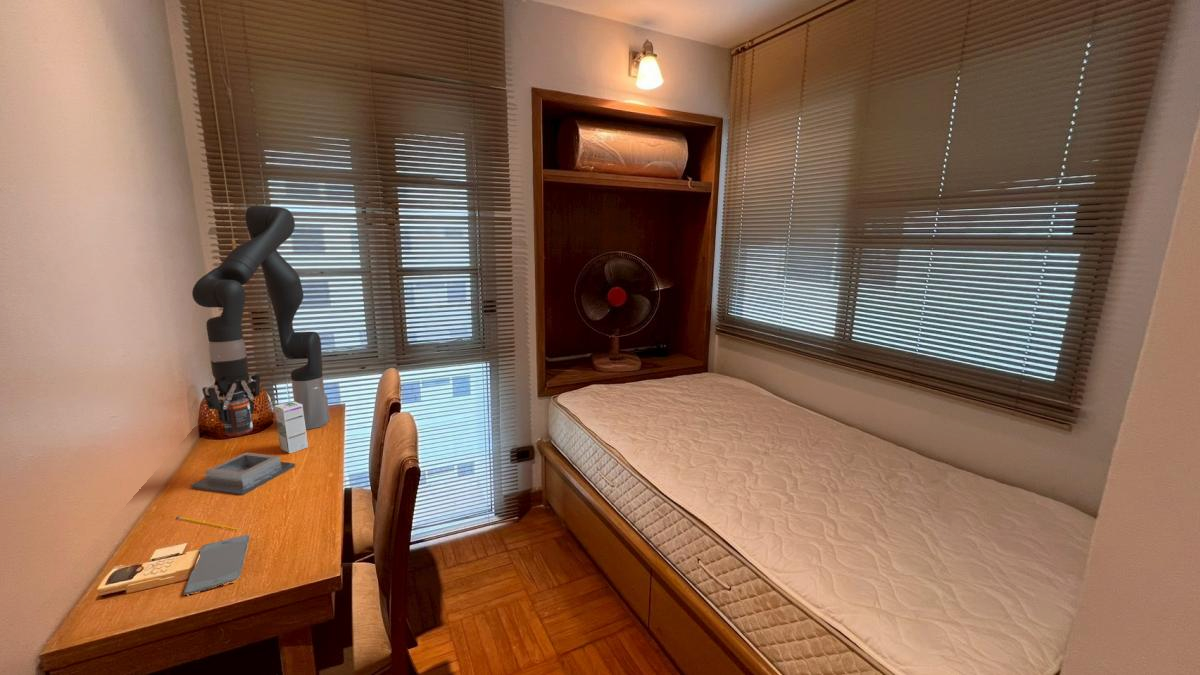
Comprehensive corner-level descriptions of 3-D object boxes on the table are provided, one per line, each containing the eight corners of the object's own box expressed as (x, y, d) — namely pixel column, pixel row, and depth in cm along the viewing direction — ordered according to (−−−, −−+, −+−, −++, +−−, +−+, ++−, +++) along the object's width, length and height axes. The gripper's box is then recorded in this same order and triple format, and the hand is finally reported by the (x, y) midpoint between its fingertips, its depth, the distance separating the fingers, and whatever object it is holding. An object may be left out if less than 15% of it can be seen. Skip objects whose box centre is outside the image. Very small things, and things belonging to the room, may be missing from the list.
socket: (248, 461, 137) (246, 448, 136) (295, 466, 134) (293, 453, 133) (191, 488, 122) (189, 473, 121) (242, 495, 118) (240, 480, 118)
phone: (183, 600, 84) (182, 594, 84) (202, 550, 98) (201, 545, 98) (239, 584, 88) (238, 578, 88) (250, 538, 102) (249, 533, 102)
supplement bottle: (259, 428, 128) (253, 389, 126) (240, 437, 122) (234, 395, 120) (239, 427, 128) (233, 388, 126) (219, 436, 123) (213, 394, 121)
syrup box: (309, 447, 146) (303, 403, 144) (288, 454, 141) (282, 408, 139) (299, 443, 149) (294, 400, 147) (279, 450, 144) (273, 405, 142)
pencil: (179, 518, 109) (179, 515, 109) (241, 531, 104) (240, 528, 104) (175, 520, 108) (175, 517, 108) (237, 533, 104) (237, 530, 103)
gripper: (242, 350, 129) (250, 408, 132) (188, 362, 115) (198, 427, 118) (265, 351, 128) (273, 410, 131) (212, 364, 114) (222, 429, 117)
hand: (237, 417), depth 124 cm, fingers closed on supplement bottle, 6 cm apart
